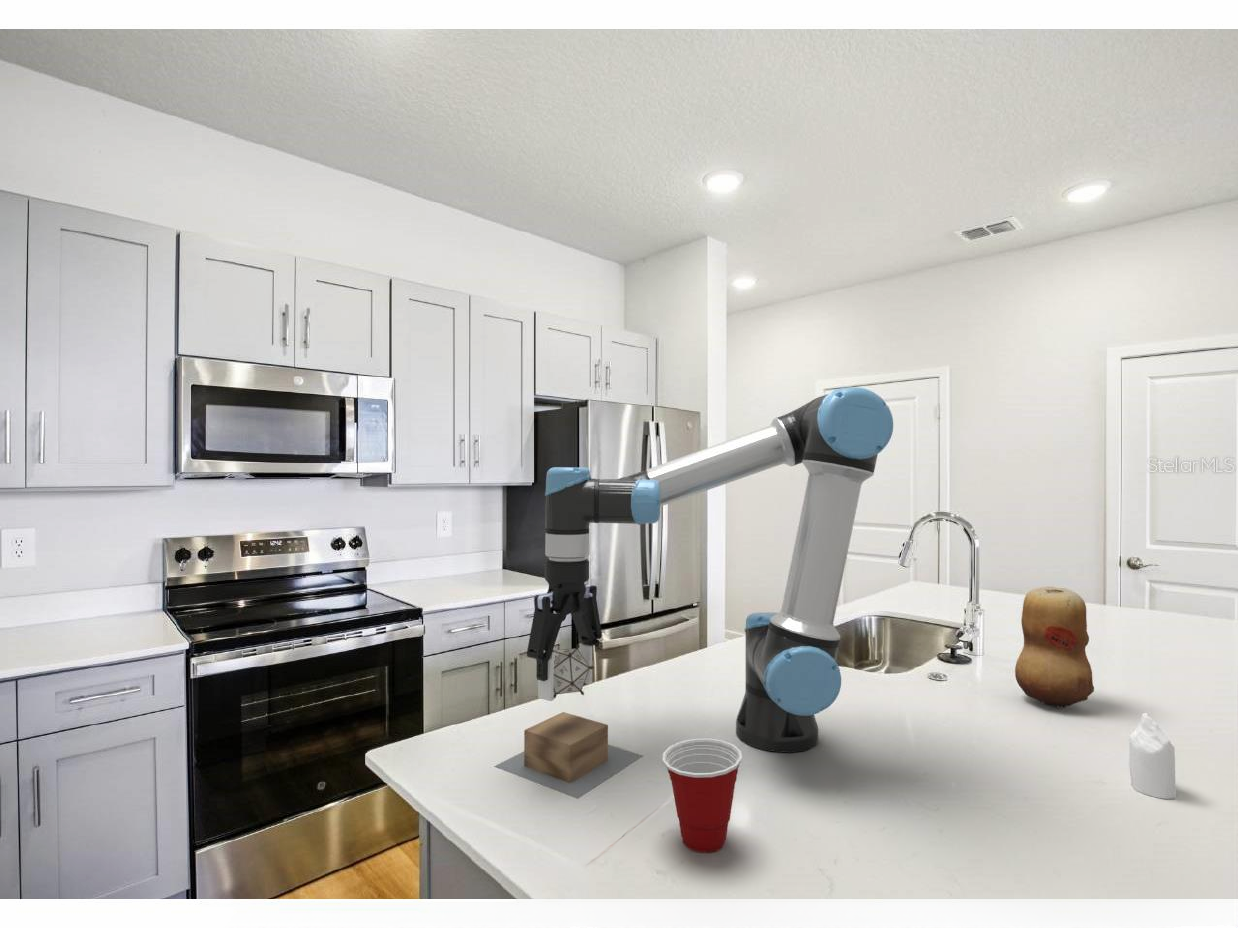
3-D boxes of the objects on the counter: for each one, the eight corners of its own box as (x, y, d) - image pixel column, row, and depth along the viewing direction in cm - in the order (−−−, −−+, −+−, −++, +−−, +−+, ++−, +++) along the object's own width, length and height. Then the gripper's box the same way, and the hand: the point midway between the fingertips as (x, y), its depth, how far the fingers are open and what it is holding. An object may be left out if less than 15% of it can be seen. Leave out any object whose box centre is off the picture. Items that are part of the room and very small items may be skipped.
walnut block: (607, 759, 111) (607, 724, 111) (570, 782, 103) (570, 744, 103) (563, 745, 117) (563, 711, 117) (524, 765, 109) (524, 730, 109)
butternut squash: (1021, 711, 136) (1021, 591, 136) (1010, 690, 148) (1010, 581, 148) (1102, 721, 130) (1102, 596, 130) (1083, 699, 143) (1083, 585, 143)
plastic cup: (656, 820, 93) (656, 736, 93) (730, 817, 94) (730, 734, 94) (668, 867, 82) (668, 772, 82) (752, 863, 83) (752, 769, 83)
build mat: (643, 758, 113) (643, 755, 113) (577, 802, 98) (577, 798, 98) (564, 733, 123) (564, 730, 123) (494, 769, 109) (494, 766, 109)
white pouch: (1185, 721, 100) (1148, 721, 100) (1185, 799, 99) (1148, 799, 100) (1154, 707, 106) (1119, 706, 106) (1154, 780, 105) (1119, 780, 106)
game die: (574, 719, 109) (582, 684, 103) (528, 697, 110) (535, 661, 105) (595, 678, 116) (604, 643, 110) (552, 659, 117) (559, 623, 112)
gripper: (590, 549, 121) (589, 669, 121) (504, 563, 103) (502, 704, 103) (622, 553, 117) (621, 677, 117) (539, 568, 99) (537, 715, 99)
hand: (566, 690), depth 110 cm, fingers closed on game die, 9 cm apart
